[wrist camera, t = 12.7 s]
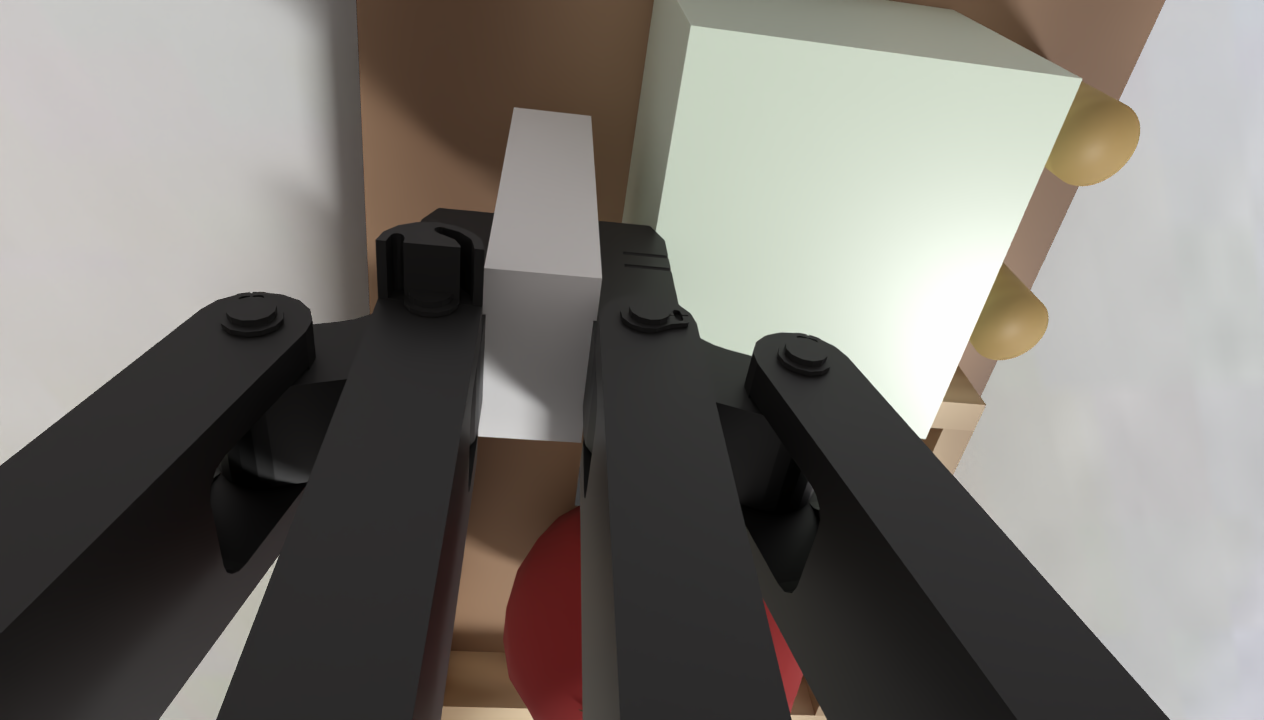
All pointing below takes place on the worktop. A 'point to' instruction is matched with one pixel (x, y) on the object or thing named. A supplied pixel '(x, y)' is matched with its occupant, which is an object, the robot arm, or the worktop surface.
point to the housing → (840, 175)
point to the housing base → (610, 92)
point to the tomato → (569, 627)
